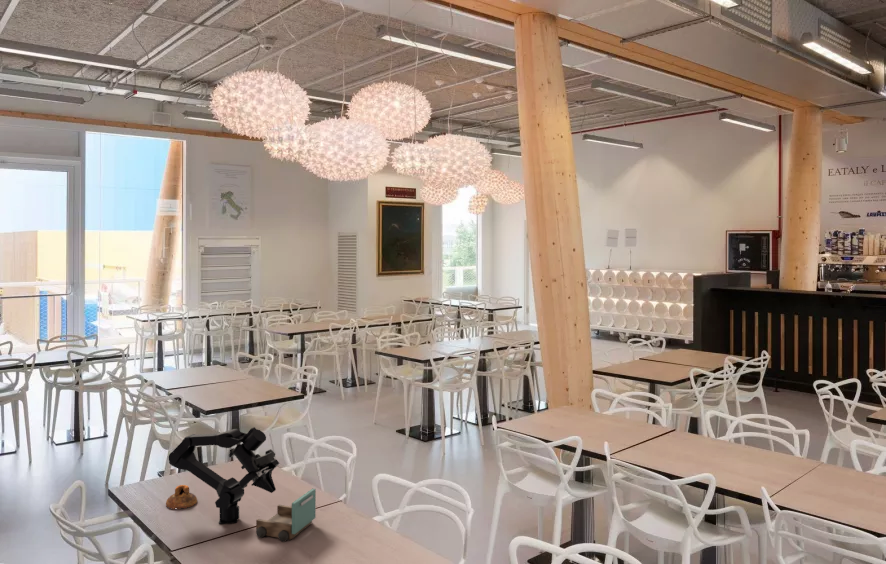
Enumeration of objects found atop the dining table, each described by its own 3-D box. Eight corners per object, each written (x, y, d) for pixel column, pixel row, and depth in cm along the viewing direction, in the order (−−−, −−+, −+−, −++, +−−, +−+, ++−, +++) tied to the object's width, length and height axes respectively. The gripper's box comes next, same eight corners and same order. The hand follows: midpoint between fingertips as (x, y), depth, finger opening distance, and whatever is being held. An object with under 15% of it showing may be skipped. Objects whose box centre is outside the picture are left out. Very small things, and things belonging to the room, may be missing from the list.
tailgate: (291, 533, 231) (291, 503, 230) (312, 517, 245) (312, 488, 244) (297, 534, 230) (297, 503, 229) (317, 518, 244) (317, 489, 243)
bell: (202, 499, 268) (202, 481, 268) (188, 510, 256) (188, 492, 256) (175, 497, 269) (174, 480, 269) (159, 509, 257) (159, 491, 257)
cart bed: (254, 536, 234) (254, 521, 234) (280, 517, 251) (280, 503, 250) (289, 542, 230) (289, 527, 229) (313, 522, 246) (313, 508, 246)
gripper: (246, 452, 233) (273, 486, 230) (274, 437, 250) (300, 469, 248) (227, 471, 235) (254, 505, 233) (257, 456, 253) (282, 487, 250)
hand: (273, 491), depth 241 cm, fingers closed
